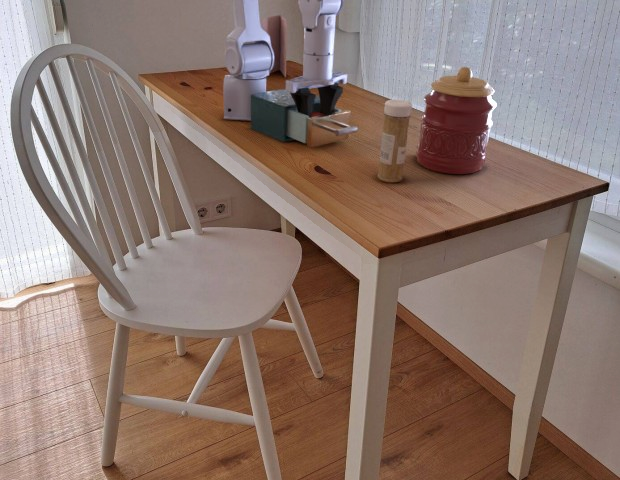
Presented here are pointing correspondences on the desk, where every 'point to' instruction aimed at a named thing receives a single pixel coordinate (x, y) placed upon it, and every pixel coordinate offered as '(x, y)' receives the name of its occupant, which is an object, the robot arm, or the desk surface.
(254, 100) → the teal box
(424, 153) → the kitchen canister
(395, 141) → the sprinkles bottle
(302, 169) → the desk surface
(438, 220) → the desk surface
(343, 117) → the drawer
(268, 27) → the greeting card
